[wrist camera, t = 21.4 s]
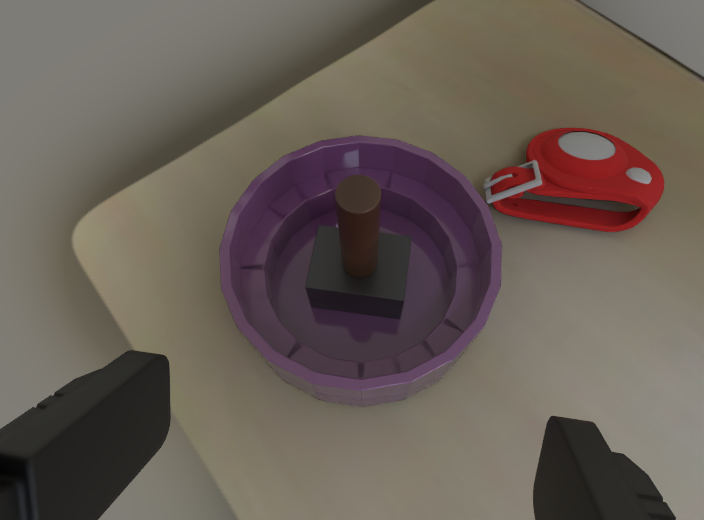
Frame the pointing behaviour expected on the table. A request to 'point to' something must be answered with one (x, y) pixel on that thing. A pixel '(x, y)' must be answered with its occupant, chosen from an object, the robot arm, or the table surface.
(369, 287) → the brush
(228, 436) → the table surface
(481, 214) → the bowl
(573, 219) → the tracker holder
